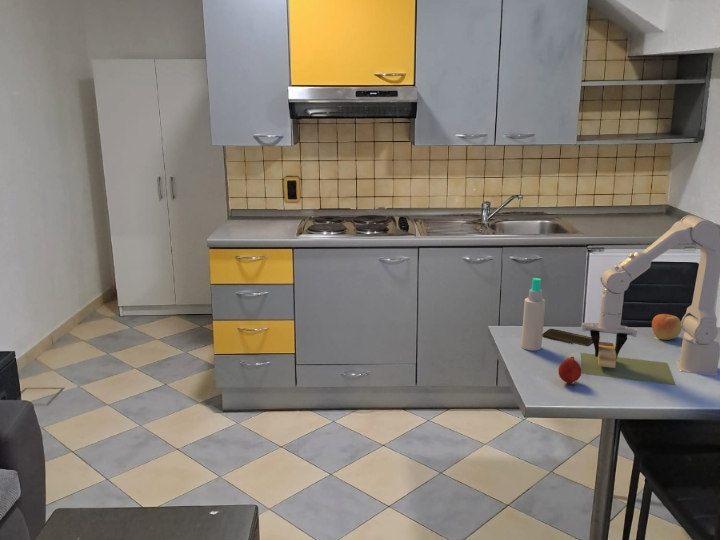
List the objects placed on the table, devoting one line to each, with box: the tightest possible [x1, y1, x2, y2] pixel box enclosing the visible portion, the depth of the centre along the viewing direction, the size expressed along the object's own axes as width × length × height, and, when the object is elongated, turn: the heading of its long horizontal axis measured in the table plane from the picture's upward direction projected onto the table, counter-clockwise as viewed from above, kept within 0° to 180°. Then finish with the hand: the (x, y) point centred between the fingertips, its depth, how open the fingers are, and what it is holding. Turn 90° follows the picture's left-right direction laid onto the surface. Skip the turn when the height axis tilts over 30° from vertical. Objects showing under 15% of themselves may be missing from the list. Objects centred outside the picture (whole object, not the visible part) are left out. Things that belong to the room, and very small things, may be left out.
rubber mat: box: [580, 352, 677, 386], centre depth 183 cm, size 24×16×1 cm, turn 73°
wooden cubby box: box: [597, 341, 616, 368], centre depth 185 cm, size 10×4×4 cm, turn 164°
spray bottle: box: [520, 277, 546, 352], centre depth 196 cm, size 6×6×22 cm
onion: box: [557, 355, 582, 385], centre depth 173 cm, size 6×6×8 cm
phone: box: [542, 328, 594, 347], centre depth 207 cm, size 8×1×15 cm
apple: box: [651, 313, 682, 341], centre depth 207 cm, size 9×9×8 cm
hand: (605, 356), depth 185 cm, fingers closed on wooden cubby box, 4 cm apart
